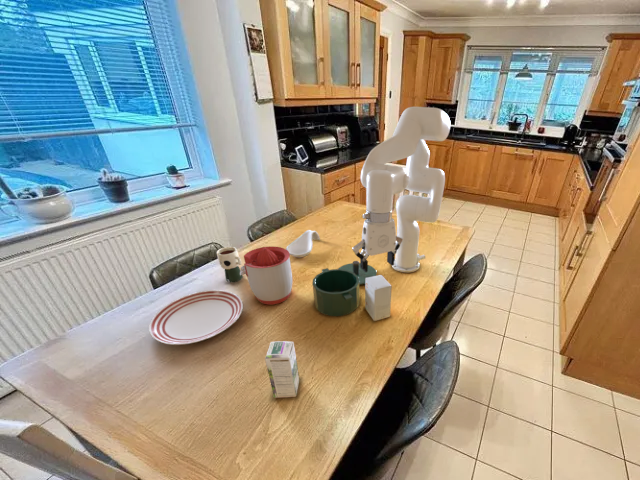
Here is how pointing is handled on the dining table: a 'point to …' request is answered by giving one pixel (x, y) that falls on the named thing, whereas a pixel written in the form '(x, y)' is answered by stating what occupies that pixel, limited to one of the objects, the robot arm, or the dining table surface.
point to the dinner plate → (196, 317)
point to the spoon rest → (302, 244)
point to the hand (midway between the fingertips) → (377, 266)
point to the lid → (359, 271)
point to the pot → (336, 292)
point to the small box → (377, 297)
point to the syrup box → (282, 369)
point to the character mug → (230, 263)
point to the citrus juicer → (268, 274)
